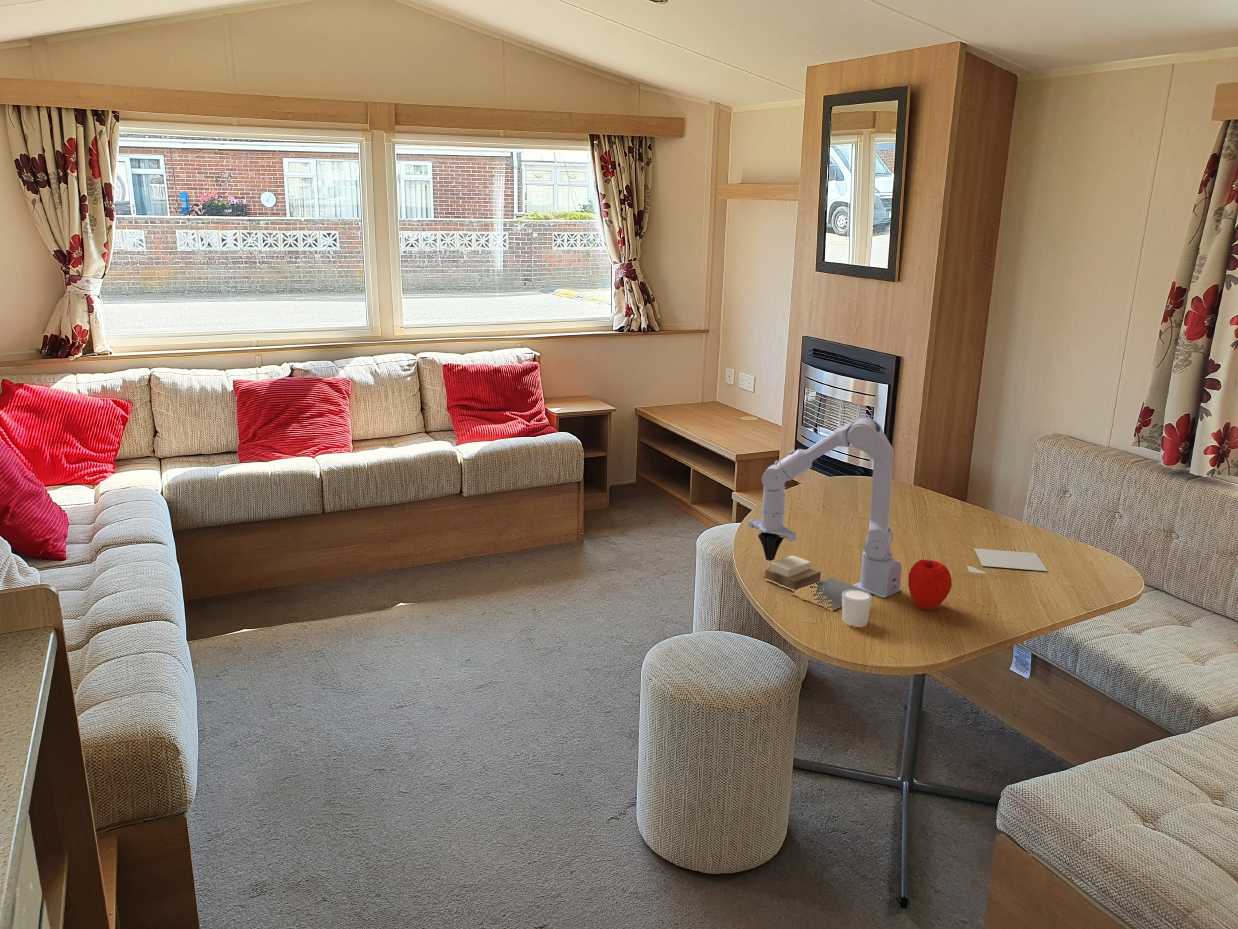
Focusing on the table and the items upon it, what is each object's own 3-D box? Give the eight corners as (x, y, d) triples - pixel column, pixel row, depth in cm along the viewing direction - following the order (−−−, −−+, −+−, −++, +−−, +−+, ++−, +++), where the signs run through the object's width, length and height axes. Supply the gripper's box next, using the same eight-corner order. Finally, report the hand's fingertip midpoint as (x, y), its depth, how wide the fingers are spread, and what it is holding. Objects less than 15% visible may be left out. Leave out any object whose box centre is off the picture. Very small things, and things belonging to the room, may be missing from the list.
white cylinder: (864, 616, 215) (867, 588, 213) (873, 628, 209) (876, 600, 207) (836, 616, 215) (838, 588, 213) (844, 629, 208) (846, 600, 207)
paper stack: (1056, 587, 235) (1057, 584, 234) (955, 578, 239) (955, 576, 239) (1035, 555, 257) (1035, 553, 257) (943, 548, 261) (943, 545, 261)
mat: (871, 594, 228) (871, 592, 227) (832, 611, 218) (832, 609, 217) (830, 579, 237) (830, 577, 237) (791, 594, 227) (791, 593, 227)
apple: (952, 604, 222) (957, 558, 219) (943, 619, 214) (949, 571, 211) (910, 595, 227) (915, 550, 224) (901, 609, 219) (905, 562, 216)
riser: (819, 582, 235) (820, 572, 234) (795, 592, 228) (795, 581, 228) (789, 571, 242) (790, 560, 241) (764, 580, 236) (765, 569, 235)
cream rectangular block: (810, 569, 236) (810, 561, 235) (787, 577, 230) (788, 570, 230) (792, 562, 240) (792, 555, 240) (769, 570, 234) (770, 563, 234)
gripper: (741, 506, 239) (739, 555, 243) (784, 520, 228) (781, 571, 232) (759, 501, 244) (757, 549, 247) (802, 515, 233) (799, 564, 236)
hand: (770, 559), depth 240 cm, fingers closed
